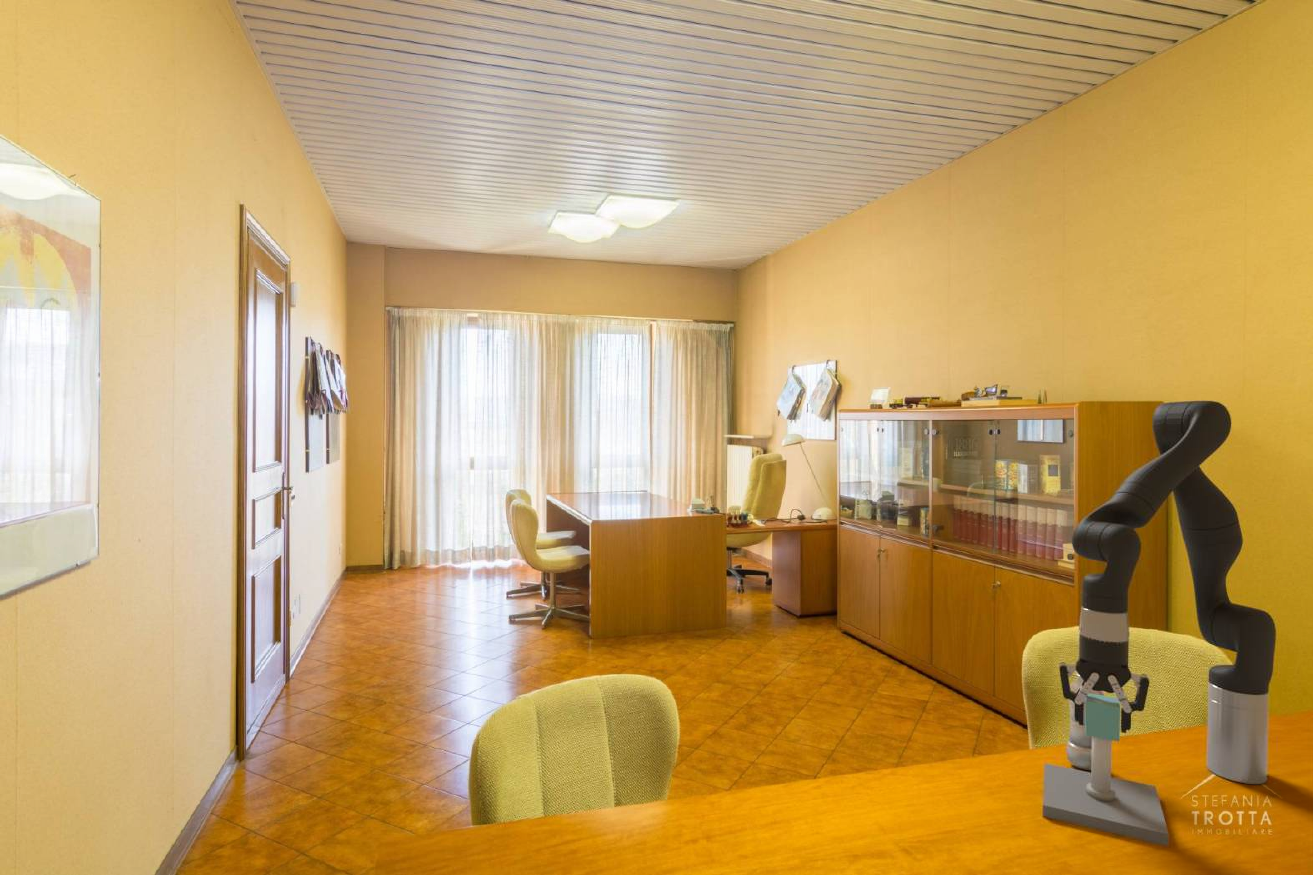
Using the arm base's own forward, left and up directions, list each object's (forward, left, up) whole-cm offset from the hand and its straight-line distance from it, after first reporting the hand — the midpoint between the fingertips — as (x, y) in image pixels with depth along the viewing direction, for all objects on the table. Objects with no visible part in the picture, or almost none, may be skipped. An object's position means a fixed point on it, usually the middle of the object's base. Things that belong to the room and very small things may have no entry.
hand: (1101, 727), depth 129 cm
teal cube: (0, 0, -1) cm, 1 cm away
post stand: (0, 0, -14) cm, 14 cm away
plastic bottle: (-16, -2, -15) cm, 22 cm away
